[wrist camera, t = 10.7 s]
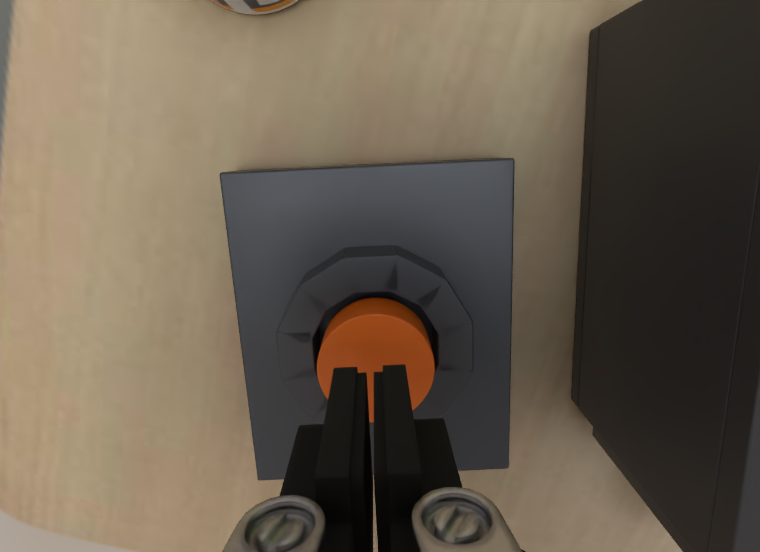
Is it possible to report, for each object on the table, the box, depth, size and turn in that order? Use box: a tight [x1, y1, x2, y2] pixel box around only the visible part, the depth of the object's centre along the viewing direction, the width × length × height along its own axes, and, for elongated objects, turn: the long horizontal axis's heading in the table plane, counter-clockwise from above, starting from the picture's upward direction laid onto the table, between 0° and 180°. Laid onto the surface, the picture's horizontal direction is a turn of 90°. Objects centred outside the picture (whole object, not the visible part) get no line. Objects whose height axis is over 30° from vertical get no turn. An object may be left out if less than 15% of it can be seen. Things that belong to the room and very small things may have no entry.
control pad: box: [220, 158, 514, 480], centre depth 18 cm, size 12×10×4 cm
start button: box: [317, 298, 435, 422], centre depth 16 cm, size 4×4×2 cm
